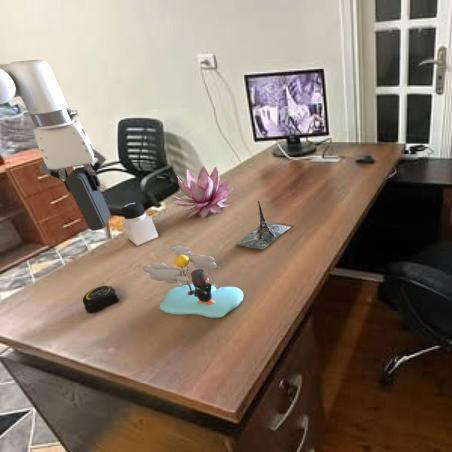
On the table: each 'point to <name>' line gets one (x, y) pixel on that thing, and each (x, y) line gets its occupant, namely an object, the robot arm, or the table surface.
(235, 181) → the table surface
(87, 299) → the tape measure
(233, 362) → the table surface
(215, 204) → the decorative flower
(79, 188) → the card reader
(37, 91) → the robot arm
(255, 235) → the eiffel tower figurine
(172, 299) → the penguin figurine
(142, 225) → the medicine bottle
